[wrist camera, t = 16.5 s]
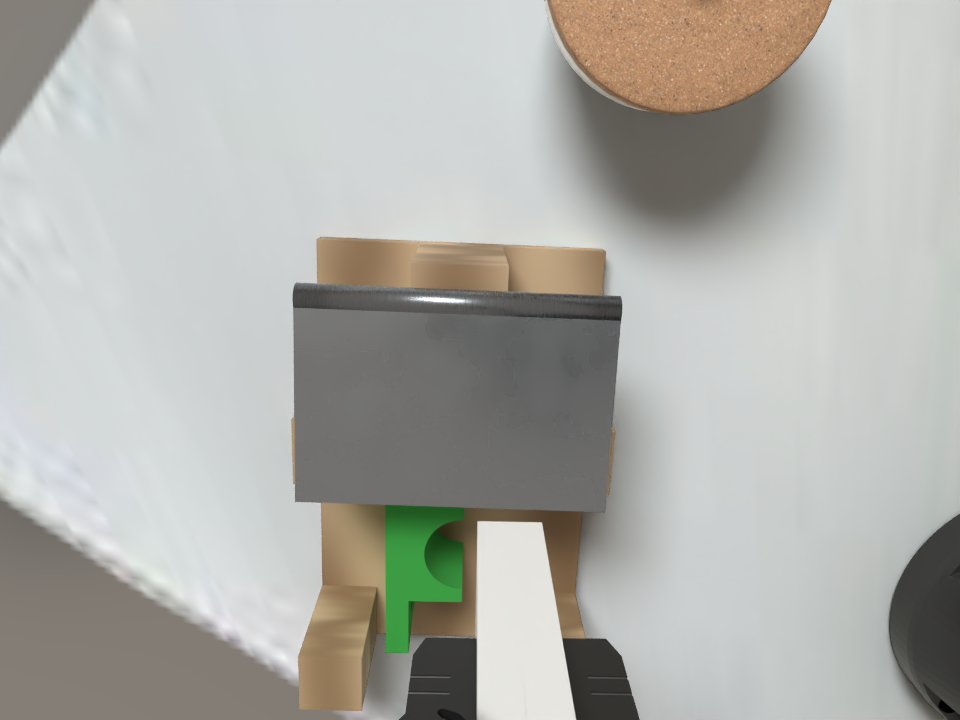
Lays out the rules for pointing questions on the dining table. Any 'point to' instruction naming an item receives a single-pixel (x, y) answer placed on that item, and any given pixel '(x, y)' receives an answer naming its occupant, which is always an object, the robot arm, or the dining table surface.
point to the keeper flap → (453, 397)
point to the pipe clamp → (418, 566)
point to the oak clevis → (361, 527)
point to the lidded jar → (682, 48)
